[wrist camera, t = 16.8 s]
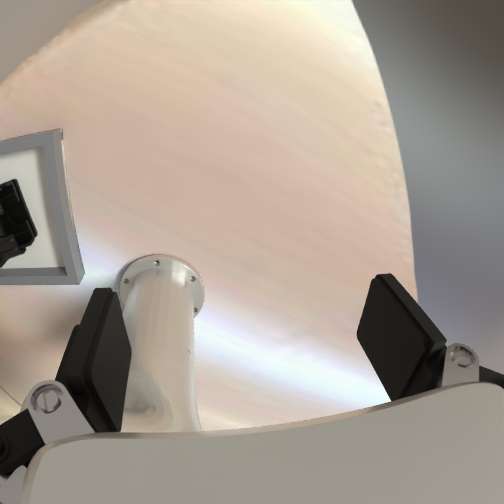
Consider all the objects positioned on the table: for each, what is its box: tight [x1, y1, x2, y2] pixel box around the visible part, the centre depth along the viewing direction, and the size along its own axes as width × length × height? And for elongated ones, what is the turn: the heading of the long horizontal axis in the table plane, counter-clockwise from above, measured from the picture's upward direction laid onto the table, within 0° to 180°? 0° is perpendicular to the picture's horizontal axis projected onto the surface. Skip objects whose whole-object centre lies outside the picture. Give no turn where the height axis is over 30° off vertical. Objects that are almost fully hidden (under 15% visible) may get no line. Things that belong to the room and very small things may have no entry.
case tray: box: [0, 128, 85, 285], centre depth 35 cm, size 21×21×3 cm
